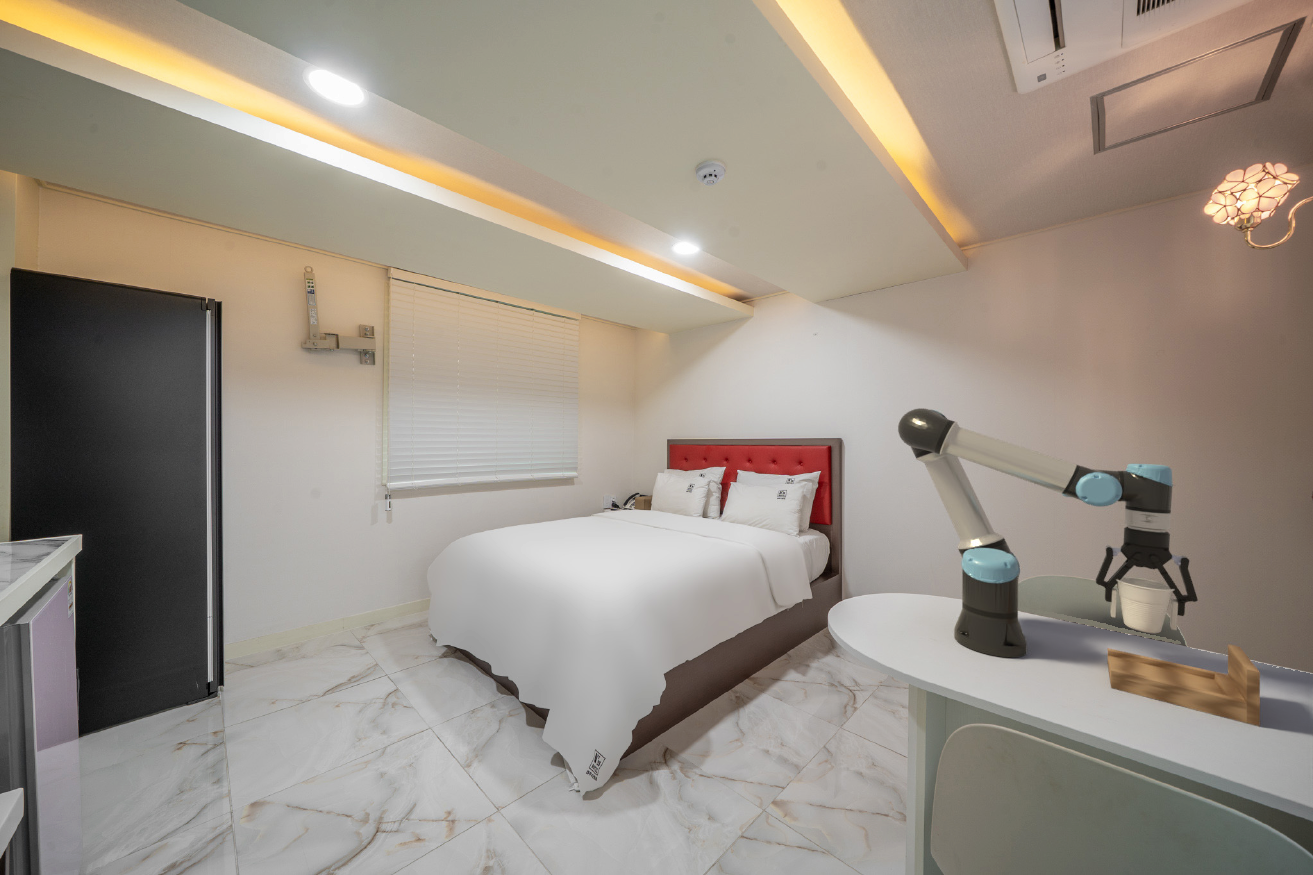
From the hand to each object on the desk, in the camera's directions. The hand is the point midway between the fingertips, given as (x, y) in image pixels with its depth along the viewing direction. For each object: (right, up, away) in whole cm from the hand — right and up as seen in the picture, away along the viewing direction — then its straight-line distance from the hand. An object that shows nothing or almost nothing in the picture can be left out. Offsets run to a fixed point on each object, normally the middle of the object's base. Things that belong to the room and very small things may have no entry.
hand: (1142, 621), depth 111 cm
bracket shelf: (-9, -9, -14) cm, 19 cm away
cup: (0, -2, 0) cm, 2 cm away
